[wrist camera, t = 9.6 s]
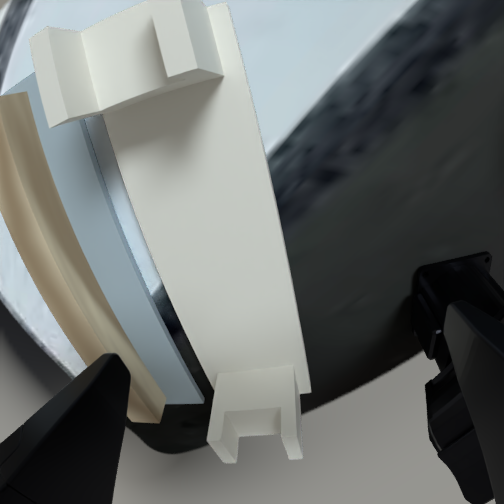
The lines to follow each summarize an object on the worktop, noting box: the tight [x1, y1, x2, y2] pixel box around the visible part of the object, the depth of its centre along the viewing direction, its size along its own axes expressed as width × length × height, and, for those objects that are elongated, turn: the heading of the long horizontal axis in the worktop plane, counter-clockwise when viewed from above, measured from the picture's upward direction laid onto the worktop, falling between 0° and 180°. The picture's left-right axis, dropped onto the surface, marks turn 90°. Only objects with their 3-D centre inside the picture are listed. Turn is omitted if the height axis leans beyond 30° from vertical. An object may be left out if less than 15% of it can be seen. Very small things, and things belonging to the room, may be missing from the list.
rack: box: [29, 0, 311, 463], centre depth 17 cm, size 8×28×8 cm, turn 13°
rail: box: [0, 91, 167, 423], centre depth 20 cm, size 3×28×3 cm, turn 13°
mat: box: [2, 72, 205, 404], centre depth 22 cm, size 10×30×1 cm, turn 13°
